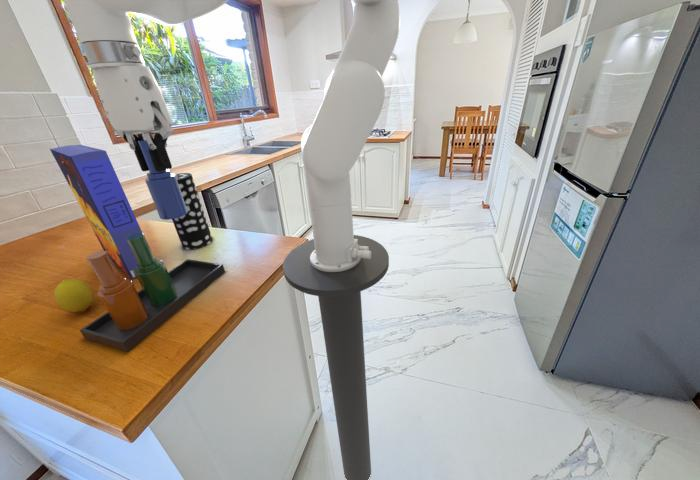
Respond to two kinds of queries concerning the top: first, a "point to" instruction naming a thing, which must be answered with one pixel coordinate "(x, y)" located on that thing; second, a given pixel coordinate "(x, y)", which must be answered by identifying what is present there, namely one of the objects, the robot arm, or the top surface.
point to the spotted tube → (191, 216)
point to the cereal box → (101, 200)
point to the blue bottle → (163, 188)
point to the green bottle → (151, 272)
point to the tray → (188, 285)
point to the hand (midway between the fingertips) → (157, 168)
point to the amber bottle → (117, 293)
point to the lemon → (73, 295)
